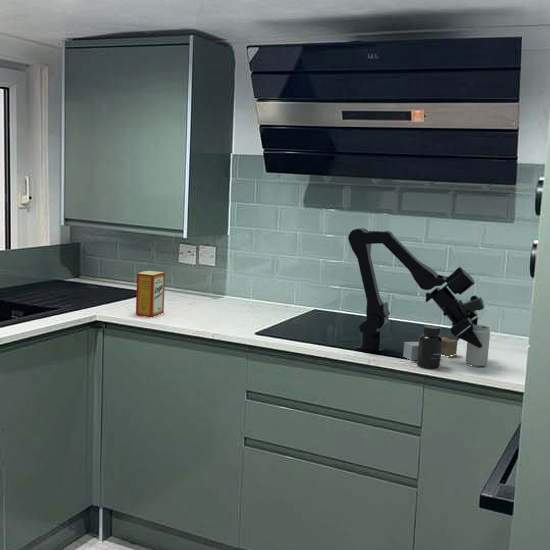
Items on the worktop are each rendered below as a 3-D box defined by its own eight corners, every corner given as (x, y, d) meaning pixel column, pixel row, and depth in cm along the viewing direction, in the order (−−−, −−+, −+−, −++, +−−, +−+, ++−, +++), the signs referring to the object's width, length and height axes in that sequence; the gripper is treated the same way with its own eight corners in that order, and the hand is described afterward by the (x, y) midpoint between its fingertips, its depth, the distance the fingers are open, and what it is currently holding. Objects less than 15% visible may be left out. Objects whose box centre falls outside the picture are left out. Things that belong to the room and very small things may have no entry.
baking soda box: (148, 311, 273) (149, 269, 271) (163, 313, 271) (165, 271, 269) (135, 315, 265) (137, 272, 262) (151, 317, 263) (153, 274, 260)
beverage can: (486, 368, 215) (490, 329, 214) (464, 366, 217) (468, 327, 216) (487, 364, 221) (491, 325, 220) (465, 361, 223) (469, 323, 222)
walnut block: (433, 354, 230) (435, 339, 230) (443, 352, 234) (444, 337, 233) (447, 357, 227) (448, 342, 226) (456, 355, 230) (457, 340, 229)
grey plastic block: (403, 357, 224) (404, 342, 223) (417, 357, 225) (418, 341, 224) (410, 362, 219) (412, 346, 218) (425, 361, 220) (426, 345, 220)
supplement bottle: (437, 370, 210) (441, 330, 208) (414, 367, 213) (417, 327, 211) (441, 365, 217) (445, 326, 215) (418, 362, 219) (422, 323, 217)
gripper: (465, 291, 209) (501, 333, 206) (473, 284, 226) (506, 322, 224) (436, 315, 213) (471, 356, 210) (445, 305, 230) (477, 344, 228)
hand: (482, 344), depth 218 cm, fingers open, 9 cm apart
